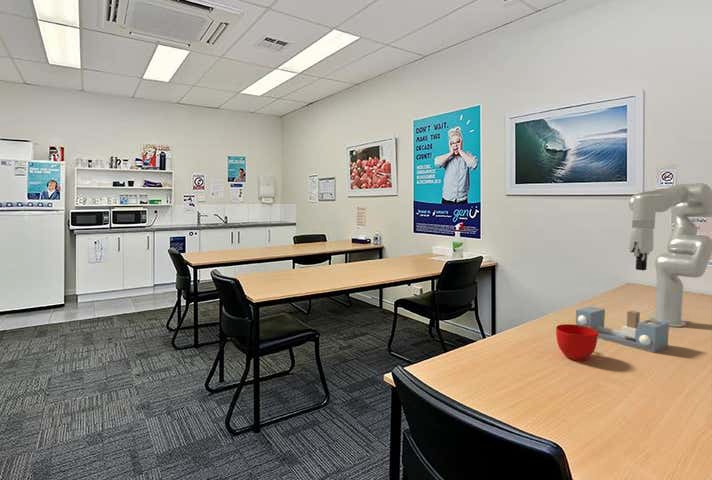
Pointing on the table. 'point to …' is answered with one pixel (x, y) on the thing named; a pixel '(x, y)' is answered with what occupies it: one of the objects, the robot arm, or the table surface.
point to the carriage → (631, 325)
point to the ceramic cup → (576, 341)
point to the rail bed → (646, 336)
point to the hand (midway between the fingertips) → (640, 269)
